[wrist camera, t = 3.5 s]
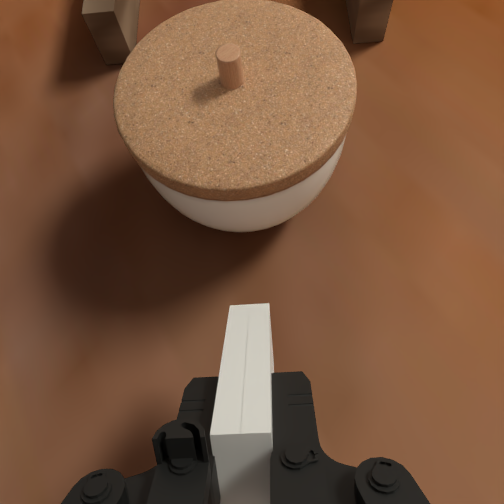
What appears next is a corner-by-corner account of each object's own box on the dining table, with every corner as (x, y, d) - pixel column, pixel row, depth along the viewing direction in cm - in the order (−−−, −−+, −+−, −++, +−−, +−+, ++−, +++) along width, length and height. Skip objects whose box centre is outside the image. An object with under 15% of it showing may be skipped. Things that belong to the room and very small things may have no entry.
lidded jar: (123, 177, 27) (47, 55, 18) (253, 80, 29) (240, -70, 21) (238, 301, 23) (211, 221, 15) (376, 179, 26) (422, 49, 17)
